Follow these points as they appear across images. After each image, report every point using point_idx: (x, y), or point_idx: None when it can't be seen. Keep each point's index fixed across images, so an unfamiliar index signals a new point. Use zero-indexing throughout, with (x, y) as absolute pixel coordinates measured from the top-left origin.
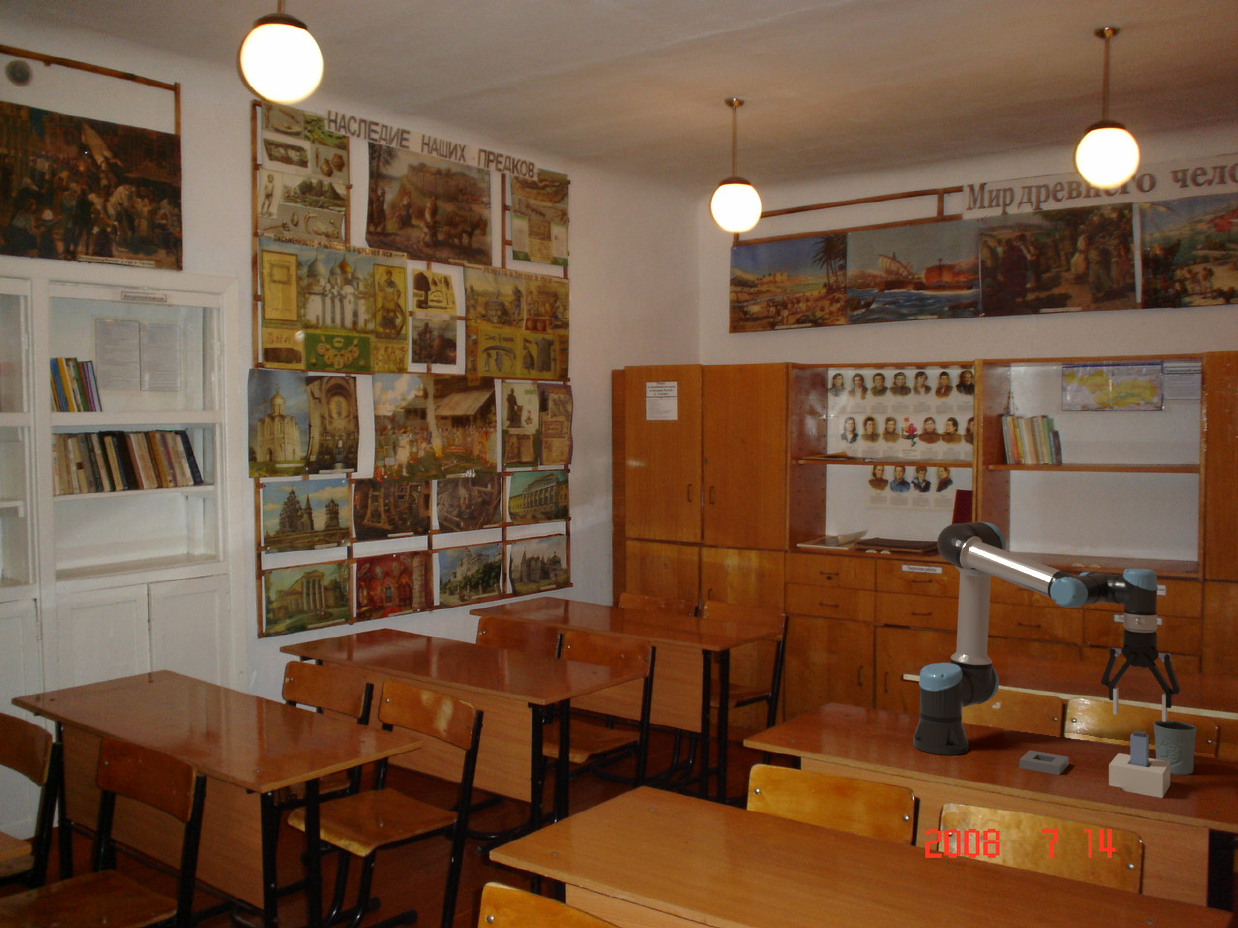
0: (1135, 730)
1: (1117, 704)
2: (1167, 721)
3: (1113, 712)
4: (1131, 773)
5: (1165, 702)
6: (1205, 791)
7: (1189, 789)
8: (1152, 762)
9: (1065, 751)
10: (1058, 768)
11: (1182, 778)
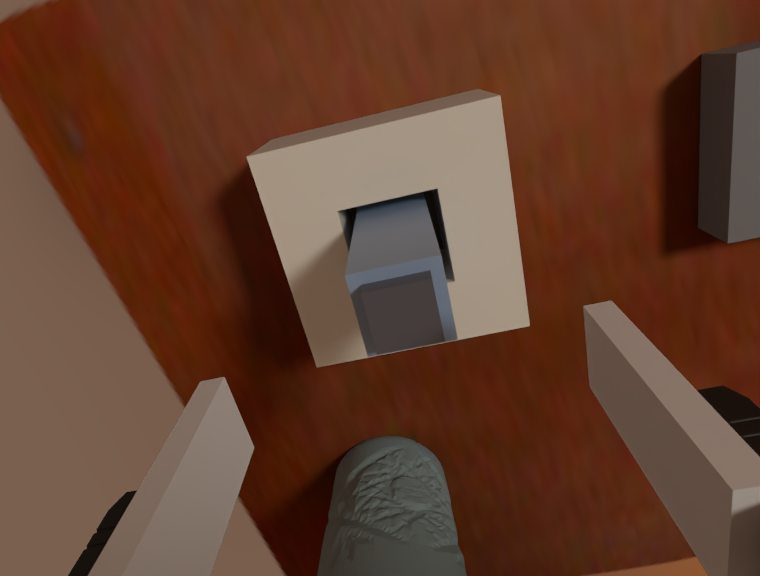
0: (438, 335)
1: (621, 397)
2: None
3: (615, 309)
4: (388, 119)
5: (124, 513)
6: (217, 337)
7: (261, 319)
8: None
9: None
10: (733, 52)
11: (332, 412)
